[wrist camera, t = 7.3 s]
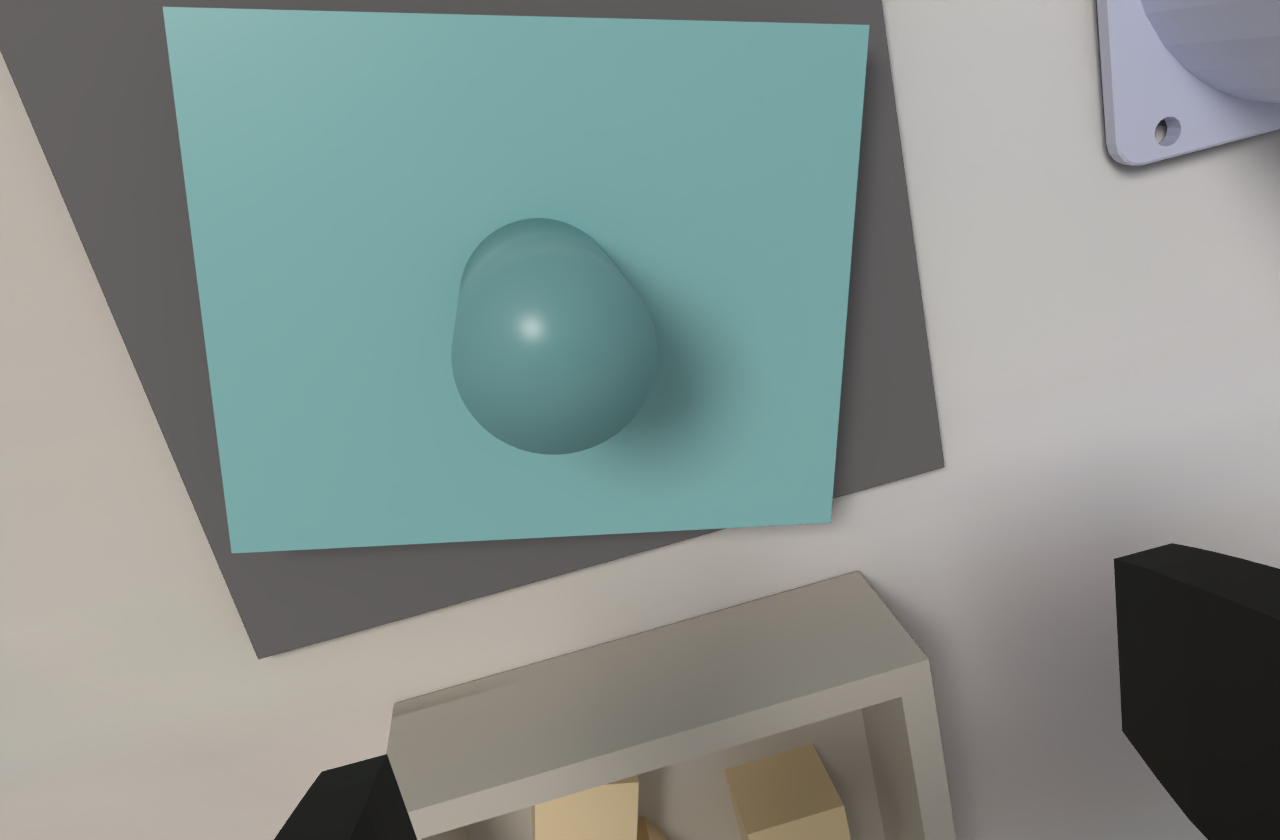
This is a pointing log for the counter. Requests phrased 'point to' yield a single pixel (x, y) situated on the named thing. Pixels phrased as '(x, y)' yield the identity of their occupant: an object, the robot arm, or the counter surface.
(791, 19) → the mat
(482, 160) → the lid
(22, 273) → the counter surface
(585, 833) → the tub
